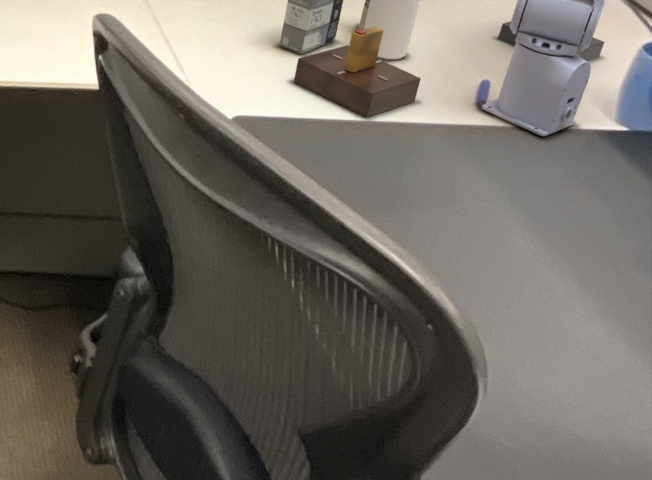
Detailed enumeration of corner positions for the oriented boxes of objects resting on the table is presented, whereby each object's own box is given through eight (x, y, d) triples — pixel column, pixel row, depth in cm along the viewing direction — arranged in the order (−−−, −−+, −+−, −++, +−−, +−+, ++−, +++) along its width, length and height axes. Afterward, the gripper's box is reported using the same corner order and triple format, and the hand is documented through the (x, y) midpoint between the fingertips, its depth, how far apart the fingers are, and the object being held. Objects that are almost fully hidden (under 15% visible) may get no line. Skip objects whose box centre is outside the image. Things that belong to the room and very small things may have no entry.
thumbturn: (366, 62, 140) (375, 24, 137) (375, 66, 139) (384, 27, 136) (343, 69, 137) (352, 30, 134) (352, 73, 137) (361, 34, 133)
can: (404, 64, 150) (428, -30, 142) (357, 55, 150) (378, -39, 142) (407, 48, 154) (430, -43, 146) (361, 39, 155) (382, -53, 147)
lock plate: (414, 101, 140) (421, 76, 138) (366, 117, 135) (372, 92, 133) (342, 67, 146) (348, 43, 144) (293, 81, 140) (298, 56, 138)
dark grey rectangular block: (599, 57, 162) (609, 29, 159) (567, 68, 157) (578, 39, 154) (530, 29, 167) (539, 1, 165) (497, 38, 162) (506, 10, 160)
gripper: (594, -99, 156) (560, 1, 165) (540, -89, 148) (508, 16, 157) (638, -84, 153) (601, 17, 162) (586, -73, 144) (550, 33, 154)
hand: (558, 18), depth 159 cm, fingers closed, pressing on button
